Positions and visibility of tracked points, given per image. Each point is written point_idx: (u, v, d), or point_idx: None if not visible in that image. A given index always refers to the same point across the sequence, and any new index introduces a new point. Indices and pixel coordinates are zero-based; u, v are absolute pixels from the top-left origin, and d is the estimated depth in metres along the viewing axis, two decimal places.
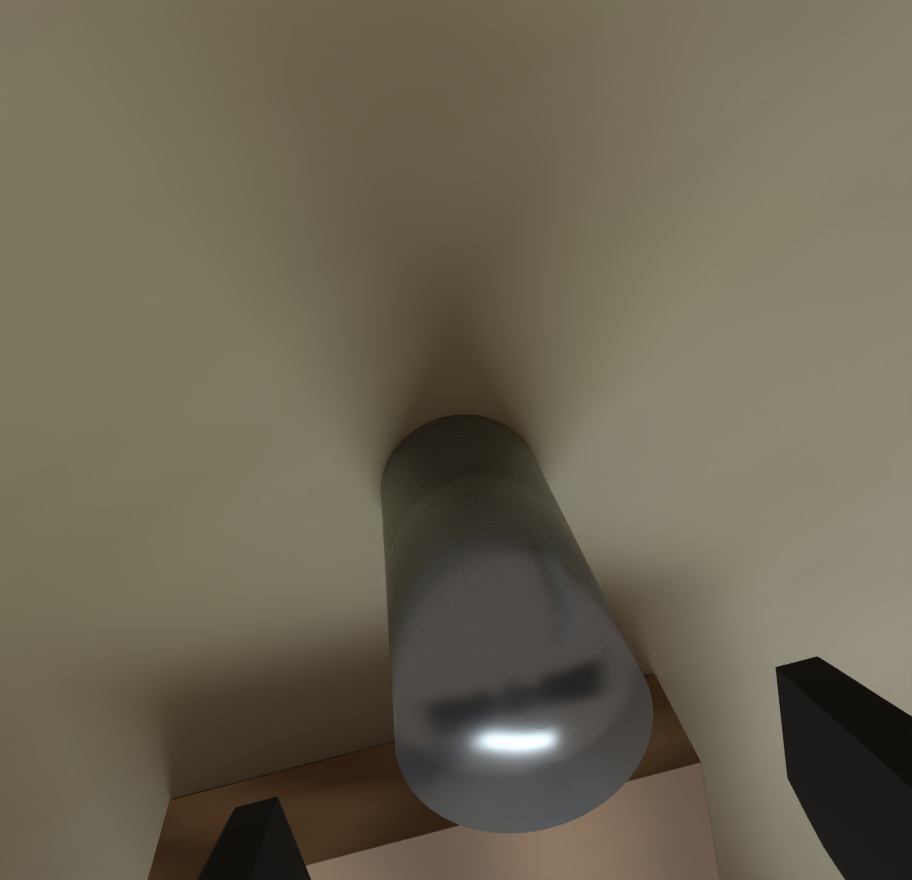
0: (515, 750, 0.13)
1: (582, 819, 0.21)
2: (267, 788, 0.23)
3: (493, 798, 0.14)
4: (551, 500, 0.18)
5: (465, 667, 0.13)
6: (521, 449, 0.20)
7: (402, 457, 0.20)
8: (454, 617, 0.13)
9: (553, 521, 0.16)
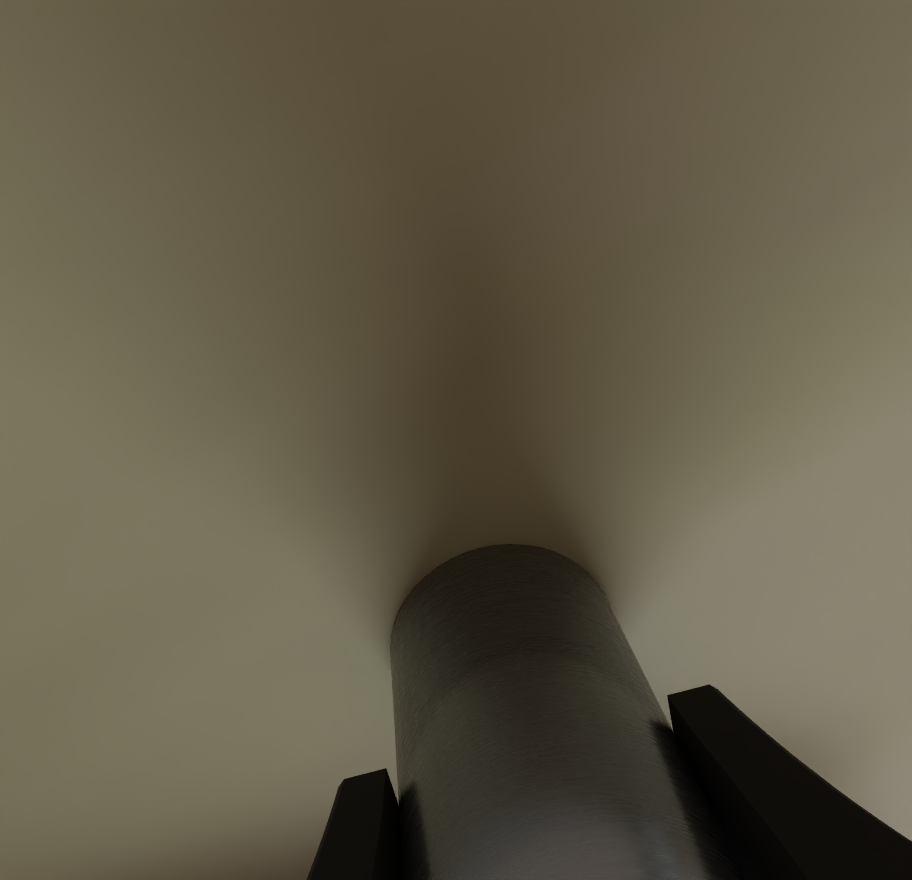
0: None
1: None
2: None
3: None
4: (656, 712, 0.11)
5: None
6: (595, 603, 0.14)
7: (422, 613, 0.14)
8: None
9: (673, 775, 0.10)
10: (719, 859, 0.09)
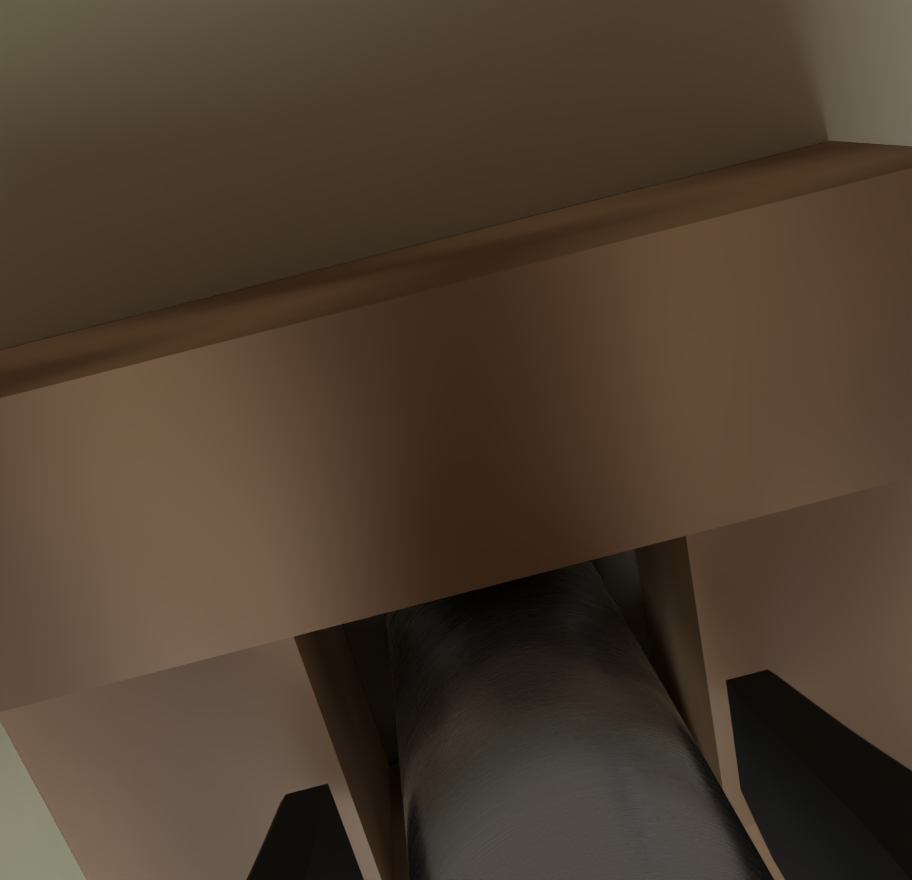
0: None
1: (736, 279, 0.11)
2: (139, 321, 0.13)
3: None
4: (640, 652, 0.12)
5: None
6: None
7: None
8: None
9: (658, 700, 0.11)
10: (700, 768, 0.10)
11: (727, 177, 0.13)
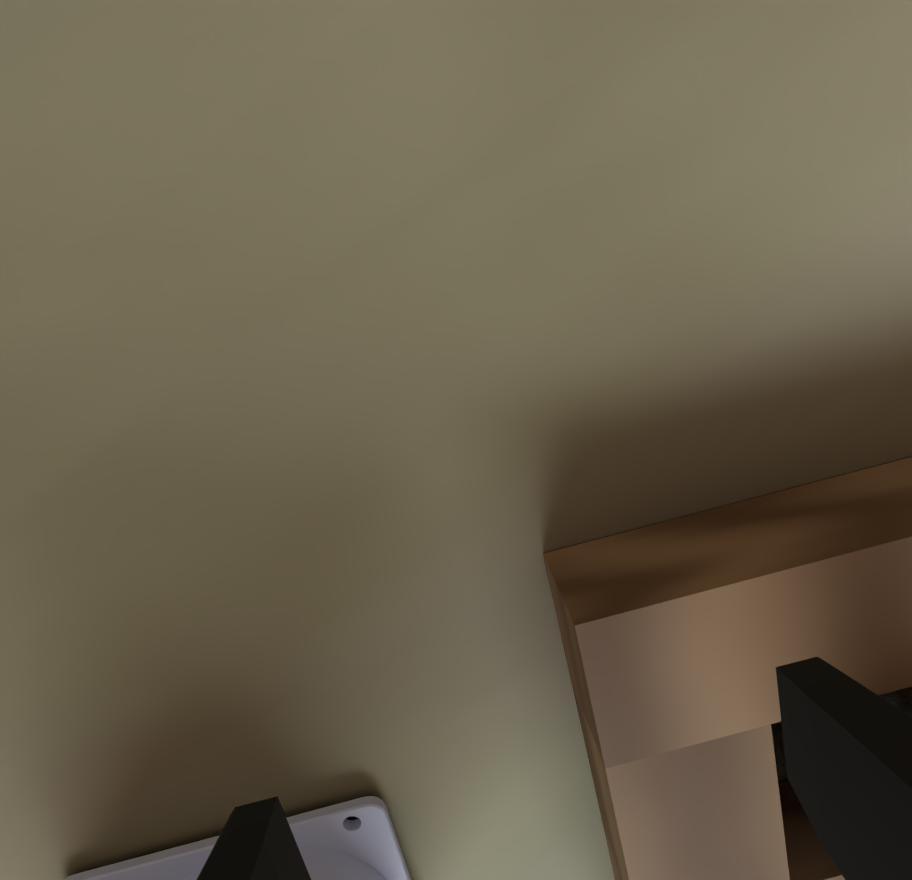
0: None
1: None
2: (653, 535, 0.22)
3: None
4: None
5: None
6: None
7: None
8: None
9: None
10: None
11: None
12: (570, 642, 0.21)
